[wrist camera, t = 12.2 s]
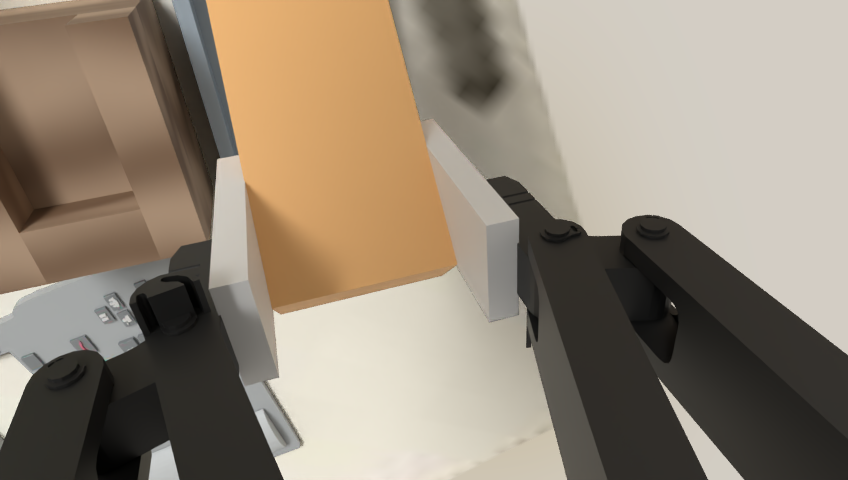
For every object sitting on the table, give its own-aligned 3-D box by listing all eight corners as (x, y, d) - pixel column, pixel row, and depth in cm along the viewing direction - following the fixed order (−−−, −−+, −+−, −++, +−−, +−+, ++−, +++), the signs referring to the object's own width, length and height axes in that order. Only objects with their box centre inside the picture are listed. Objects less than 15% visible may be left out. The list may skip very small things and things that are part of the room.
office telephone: (305, 458, 50) (79, 551, 48) (302, 434, 52) (85, 522, 50) (174, 254, 36) (-148, 372, 34) (177, 233, 38) (-126, 343, 37)
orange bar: (181, -150, 19) (158, -222, 17) (328, -163, 20) (327, -233, 18) (281, 314, 17) (271, 308, 14) (441, 275, 18) (457, 264, 15)
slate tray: (105, -242, 25) (94, -253, 23) (339, -256, 27) (347, -267, 25) (243, 217, 39) (244, 236, 36) (395, 186, 40) (403, 202, 38)
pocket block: (-74, 19, 28) (-159, 56, 22) (148, -10, 30) (127, 16, 24) (36, 224, 35) (-6, 295, 29) (213, 189, 37) (209, 249, 31)
